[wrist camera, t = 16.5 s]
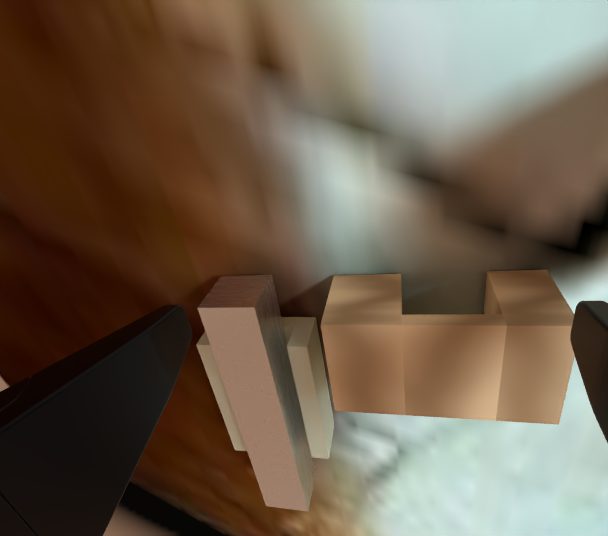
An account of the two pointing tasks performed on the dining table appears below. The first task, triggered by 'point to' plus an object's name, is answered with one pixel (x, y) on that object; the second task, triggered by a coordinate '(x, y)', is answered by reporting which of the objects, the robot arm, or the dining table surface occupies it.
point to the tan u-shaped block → (450, 351)
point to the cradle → (307, 381)
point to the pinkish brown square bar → (261, 385)
